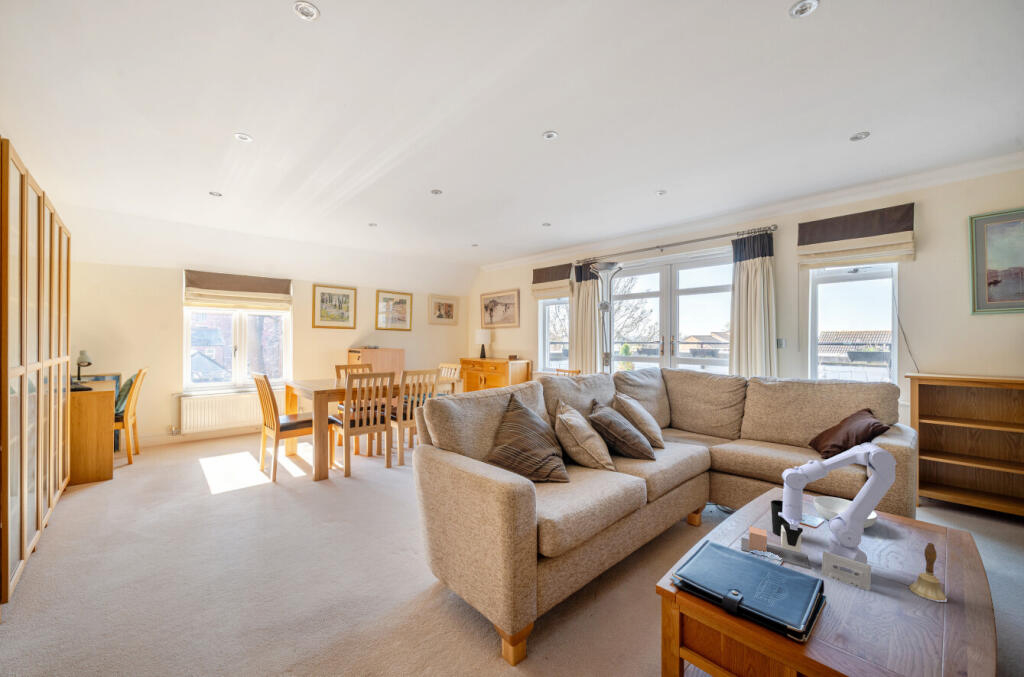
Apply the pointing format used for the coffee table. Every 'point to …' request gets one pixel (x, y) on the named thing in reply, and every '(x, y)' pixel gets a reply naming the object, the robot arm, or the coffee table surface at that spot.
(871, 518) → the serving bowl
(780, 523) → the cup
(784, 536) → the cream block
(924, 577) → the hand bell
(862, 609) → the coffee table surface
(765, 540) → the terracotta cover
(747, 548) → the charcoal mat
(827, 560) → the cassette
